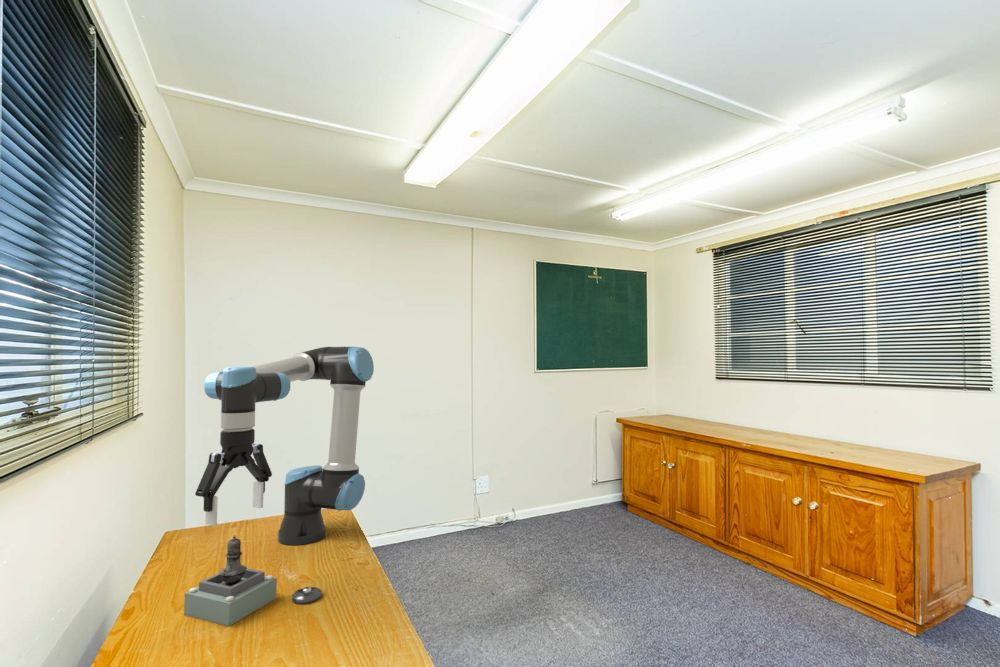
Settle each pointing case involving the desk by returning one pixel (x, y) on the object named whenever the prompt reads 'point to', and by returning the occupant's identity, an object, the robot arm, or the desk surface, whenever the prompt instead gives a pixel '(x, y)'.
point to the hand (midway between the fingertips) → (235, 515)
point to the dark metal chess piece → (233, 564)
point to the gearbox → (229, 597)
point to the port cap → (306, 595)
